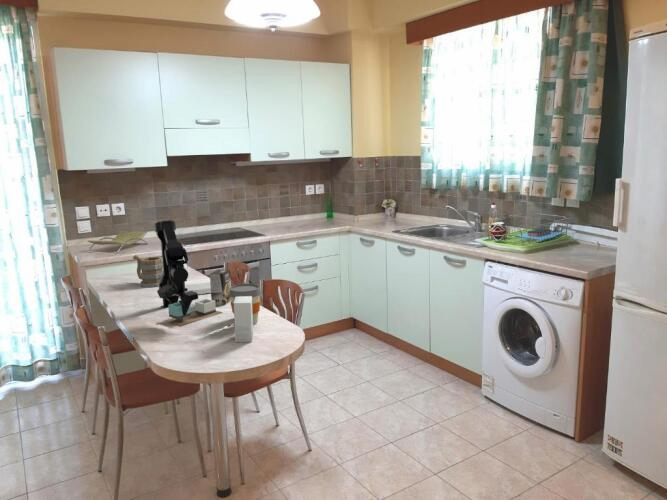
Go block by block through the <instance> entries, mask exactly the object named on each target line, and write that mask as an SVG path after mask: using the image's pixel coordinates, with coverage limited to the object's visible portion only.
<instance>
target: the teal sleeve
mask: <svg viewBox="0 0 667 500" xmlns="http://www.w3.org/2000/svg"><path fill="white" fill-rule="evenodd" d="M168 307H169V308H168V316H169V318H175V319H182V318H185V317H188V316H191V315H190V312H191V305H190V306H189V309H188V311H187V314H186V315H183V312H182V306H181V303H180V302H179V301H178V302H177V303H174V304H170V305H168Z"/></svg>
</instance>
